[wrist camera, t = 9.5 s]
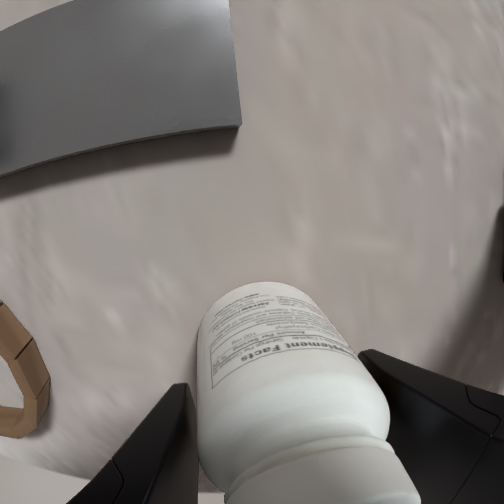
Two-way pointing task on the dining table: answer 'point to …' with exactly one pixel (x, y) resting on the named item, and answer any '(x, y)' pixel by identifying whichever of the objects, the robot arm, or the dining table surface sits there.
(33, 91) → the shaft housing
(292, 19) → the dining table surface
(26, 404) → the bottle collar
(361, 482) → the pill bottle
